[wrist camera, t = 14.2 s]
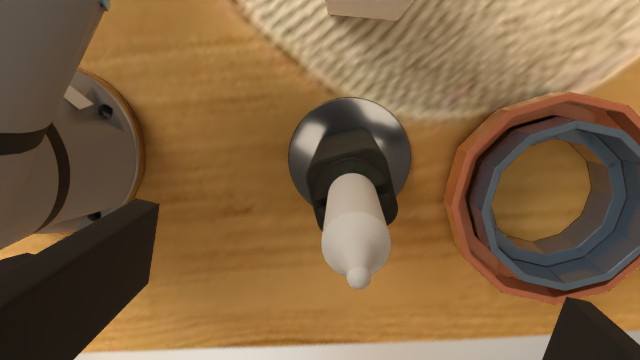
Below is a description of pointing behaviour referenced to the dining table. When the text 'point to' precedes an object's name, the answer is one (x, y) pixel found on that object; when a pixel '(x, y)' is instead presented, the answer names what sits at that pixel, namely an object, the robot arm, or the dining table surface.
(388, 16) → the milk
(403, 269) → the dining table surface
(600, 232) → the stacked bowls
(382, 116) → the slate coaster
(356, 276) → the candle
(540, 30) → the dining table surface
